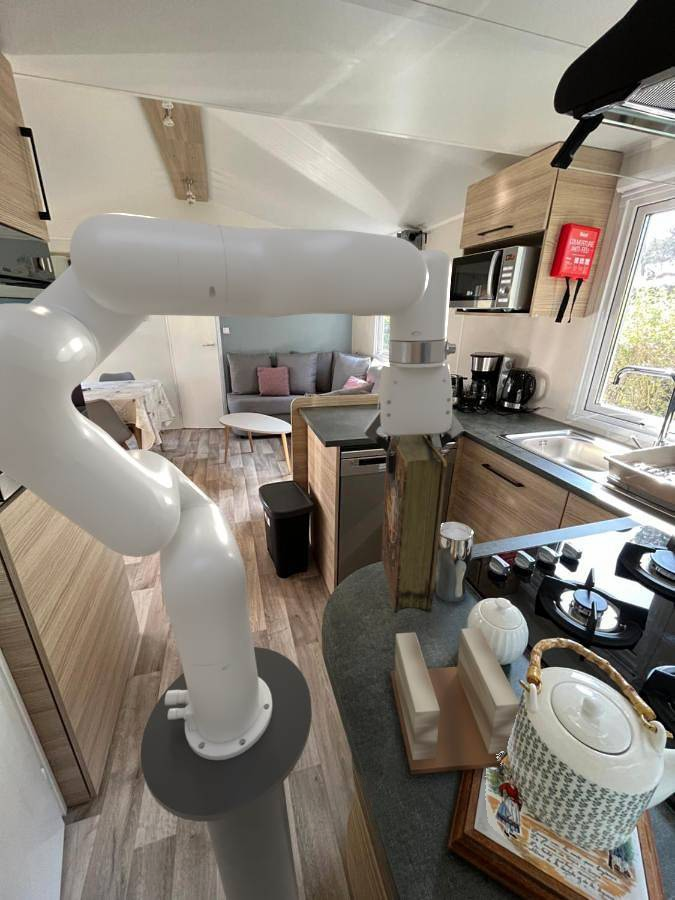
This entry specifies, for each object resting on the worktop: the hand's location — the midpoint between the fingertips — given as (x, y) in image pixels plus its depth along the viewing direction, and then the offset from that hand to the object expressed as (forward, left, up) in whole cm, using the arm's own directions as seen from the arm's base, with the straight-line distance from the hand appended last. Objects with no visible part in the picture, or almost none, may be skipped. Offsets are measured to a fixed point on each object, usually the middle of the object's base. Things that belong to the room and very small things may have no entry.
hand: (411, 474), depth 58 cm
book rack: (+3, -15, -32) cm, 35 cm away
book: (-1, 0, -20) cm, 20 cm away
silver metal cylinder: (+12, +10, -32) cm, 36 cm away
